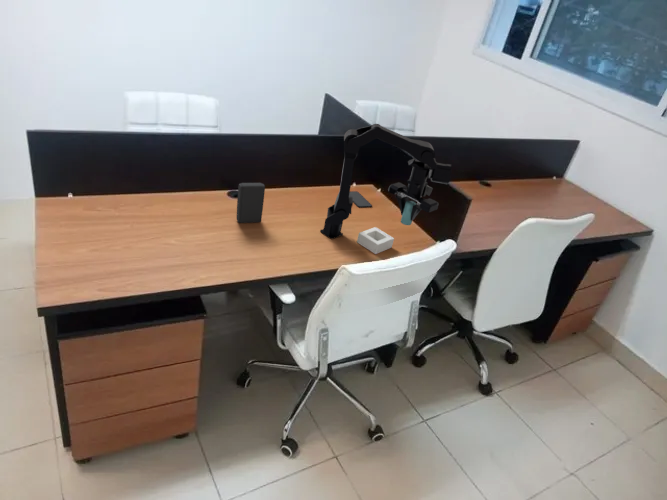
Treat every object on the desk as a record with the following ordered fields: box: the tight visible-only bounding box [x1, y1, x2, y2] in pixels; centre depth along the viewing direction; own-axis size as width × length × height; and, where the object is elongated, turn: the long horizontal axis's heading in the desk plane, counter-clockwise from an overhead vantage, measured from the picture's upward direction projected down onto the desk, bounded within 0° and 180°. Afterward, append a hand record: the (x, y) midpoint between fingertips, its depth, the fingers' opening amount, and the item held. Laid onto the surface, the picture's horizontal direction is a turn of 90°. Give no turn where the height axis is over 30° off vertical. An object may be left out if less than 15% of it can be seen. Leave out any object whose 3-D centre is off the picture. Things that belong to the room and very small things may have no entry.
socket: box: [356, 226, 395, 255], centre depth 178 cm, size 9×9×4 cm
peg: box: [400, 200, 417, 226], centre depth 175 cm, size 4×4×8 cm
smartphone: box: [349, 190, 373, 209], centre depth 210 cm, size 7×1×15 cm
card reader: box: [236, 182, 266, 224], centre depth 174 cm, size 9×4×15 cm, turn 113°
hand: (407, 217), depth 176 cm, fingers closed on peg, 4 cm apart
